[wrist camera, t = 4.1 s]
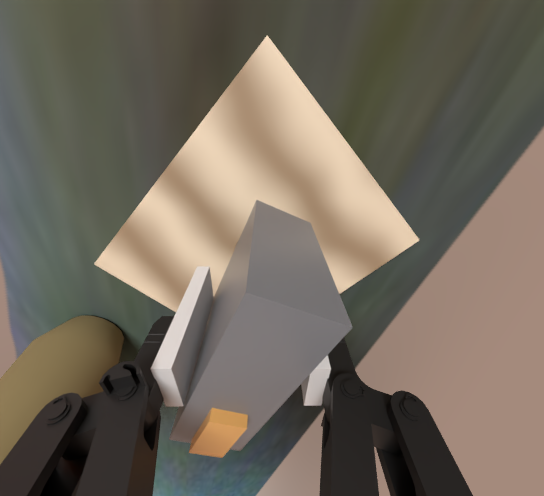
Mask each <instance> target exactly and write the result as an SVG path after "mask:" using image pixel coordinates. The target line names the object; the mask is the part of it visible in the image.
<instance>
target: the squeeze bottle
mask: <svg viewBox="0 0 544 496" xmlns="http://www.w3.org/2000/svg"><path fill="white" fill-rule="evenodd" d="M123 341H124V336H123V334H122V332H121V330H120V329H119V328H118V327H116V326H115V325H114V324H113V323H111V322H109V321H107V320H105V319H103V318H99V317H95V316H78V317H75V318H72V319H70V320H68V321H67V322H65V323H63V324H61V325H59V326H58V327H56V328H54V329H52V330H51V331H49V332H47V333H45V334H44V335H42V336H40V337H38V338H36V339H35V340H33V341H32V342H31V344H30V345H29V346H28V347H27V348H26V349H25V351H24V352H23V353H22V354H21V355H20V356H19V357H18V359H17V360H16V361H15V362H14V363H13V364H12V366H11V367H10V368H9V369H8V370H7V371H6V373H5V374H4V375H3V376H2V377H1V379H0V464H1V463H2V462H3V460H4V459H5V458H6V456H7V455H8V453H9V452H10V451H11V449H12V448H13V447H14V445H15V444H16V443H17V441H18V440H19V439H20V437H21V436H22V435H23V433H24V432H25V431H26V429H27V428H28V426H29V425H30V424H31V422H32V421H33V420H34V418H35V417H36V416H37V414H38V413H39V412H40V411H41V410H42V409H43V408H44V406H45V405H46V404H48V403H49V402H51V401H52V400H53V399H55V398H57V397H59V396H61V395H63V394H67V393H77V394H79V396H80V397H81V398H84V397H87V396H90V395H93V394H97V393H100V392H103V391H104V390H103V389H102V387H101V386H100V384H99V381H100V380H101V378H102V376H103V375H104V374H105V373H106V372H107V371H108V370H109V369H110V368H112V367H113V366H115V365H116V364H118V363H119V359H120V354H121V350H122V345H123Z"/></svg>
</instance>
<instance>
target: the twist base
mask: <svg viewBox="0 0 544 496" xmlns="http://www.w3.org/2000/svg"><path fill="white" fill-rule="evenodd" d="M256 200H259V201H261V202H263V203H266V204H268V205H270V206H273V207H275V208H277V209H280V210H282V211H284V212H287V213H289V214H291V215H293V216H296V217H298V218H300V219H303V220H305V221H307V222H310V223H311V225H312V228H313V230H314V233H315V235H316V238H317V240H318V243H319V245H320V248H321V250H322V252H323V255H324V257H325V260H326V262H327V265H328V267H329V270H330V272H331V275H332V277H333V280H334V282H335V285H336V287H337V290H338V292H339V294H340V293H342V292H343V291H345V290H346V289H348V288H349V287H351V286H352V285H354V284H355V283H357V282H358V281H360V280H361V279H363V278H364V277H366V276H367V275H368V274H370V273H371V272H373V271H374V270H376V269H377V268H379V267H380V266H382V265H383V264H385V263H386V262H388V261H389V260H391V259H392V258H394V257H395V256H397V255H398V254H400V253H401V252H403V251H404V250H406V249H407V248H409V247H410V246H412V245H413V244H415V243H416V242H418V241H419V239H418V237H417V236H416V235H415V233H414V232H413V231H412V229H411V228H410V227H409V225H408V224H407V223H406V221H405V220H404V218H403V217H402V216H401V214H400V213H399V212H398V210H397V209H396V208H395V206H394V205H393V204H392V202H391V201H390V200H389V198H388V197H387V196H386V194H385V193H384V192H383V190H382V189H381V188H380V186H379V185H378V184H377V182H376V181H375V179H374V178H373V177H372V175H371V174H370V173H369V171H368V170H367V169H366V167H365V166H364V165H363V163H362V162H361V161H360V159H359V158H358V157H357V155H356V154H355V153H354V151H353V150H352V149H351V147H350V146H349V145H348V143H347V142H346V140H345V139H344V138H343V136H342V135H341V134H340V132H339V131H338V130H337V128H336V127H335V126H334V124H333V123H332V122H331V120H330V119H329V118H328V116H327V115H326V114H325V112H324V111H323V110H322V108H321V107H320V106H319V104H318V103H317V102H316V100H315V99H314V97H313V96H312V95H311V93H310V92H309V91H308V89H307V88H306V87H305V85H304V84H303V83H302V81H301V80H300V79H299V77H298V76H297V75H296V73H295V72H294V71H293V69H292V68H291V67H290V65H289V64H288V63H287V61H286V60H285V58H284V57H283V56H282V54H281V53H280V52H279V50H278V49H277V48H276V46H275V45H274V44H273V42H272V41H271V40H270V38H269V37H268V36H266V38H265V39H264V40H263V42H262V43H261V44H260V46H259V47H258V48H257V50H256V51H255V52H254V54H253V55H252V56H251V58H250V59H249V60H248V61H247V63H246V64H245V65H244V67H243V68H242V69H241V71H240V72H239V73H238V75H237V76H236V77H235V79H234V80H233V81H232V83H231V84H230V85H229V87H228V88H227V89H226V91H225V92H224V93H223V94H222V96H221V97H220V98H219V100H218V101H217V102H216V104H215V105H214V106H213V108H212V109H211V110H210V112H209V113H208V114H207V116H206V117H205V118H204V120H203V121H202V122H201V124H200V125H199V126H198V127H197V129H196V130H195V131H194V133H193V134H192V135H191V137H190V138H189V139H188V141H187V142H186V143H185V145H184V146H183V147H182V149H181V150H180V151H179V153H178V154H177V155H176V157H175V158H174V159H173V160H172V162H171V163H170V164H169V166H168V167H167V168H166V170H165V171H164V172H163V174H162V175H161V176H160V178H159V179H158V180H157V182H156V183H155V184H154V186H153V187H152V188H151V190H150V191H149V192H148V193H147V195H146V196H145V197H144V199H143V200H142V201H141V203H140V204H139V205H138V207H137V208H136V209H135V211H134V212H133V213H132V215H131V216H130V217H129V219H128V220H127V221H126V223H125V224H124V225H123V226H122V228H121V229H120V230H119V232H118V233H117V234H116V236H115V237H114V238H113V240H112V241H111V242H110V244H109V245H108V246H107V248H106V249H105V250H104V252H103V253H102V254H101V256H100V257H99V258H98V259H97V261H96V262H95V263H94V264H95V265H96V266H98V267H100V268H101V269H103V270H105V271H107V272H108V273H110V274H112V275H113V276H115V277H117V278H118V279H120V280H122V281H124V282H125V283H127V284H129V285H130V286H132V287H134V288H136V289H137V290H139V291H141V292H142V293H144V294H146V295H147V296H149V297H151V298H153V299H154V300H156V301H158V302H159V303H161V304H163V305H165V306H166V307H168V308H170V309H171V310H173V311H175V312H177V310H178V308H179V305H180V303H181V301H182V299H183V297H184V294H185V292H186V290H187V288H188V286H189V283H190V281H191V279H192V277H193V275H194V272H195V270H196V268H197V266H205V267H210V273H211V281H212V288H213V296H215V294H216V291H217V289H218V287H219V284H220V282H221V280H222V278H223V275H224V273H225V271H226V268H227V266H228V264H229V261H230V259H231V257H232V255H233V252H234V250H235V248H236V245H237V243H238V241H239V239H240V236H241V234H242V232H243V229H244V227H245V225H246V223H247V220H248V218H249V216H250V213H251V211H252V209H253V207H254V204H255V202H256Z"/></svg>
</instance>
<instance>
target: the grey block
mask: <svg viewBox="0 0 544 496" xmlns="http://www.w3.org/2000/svg"><path fill="white" fill-rule="evenodd" d="M352 328H353V327H352V324H351V322H350V319H349V317H348V315H347V312H346V310H345V307H344V305H343V302H342V300H341V297H340V295H339V292H338V290H337V287H336V285H335V282H334V280H333V277H332V275H331V272H330V270H329V267H328V265H327V262H326V260H325V257H324V255H323V252H322V250H321V248H320V245H319V243H318V240H317V238H316V235H315V233H314V230H313V228H312V225H311V223H310V222H307V221H305V220H303V219H300V218H298V217H296V216H293V215H291V214H289V213H287V212H284V211H282V210H280V209H277V208H275V207H273V206H270V205H268V204H266V203H263V202H261V201H259V200H256V202H255V204H254V207H253V209H252V211H251V213H250V216H249V218H248V220H247V223H246V225H245V227H244V229H243V232H242V234H241V236H240V239H239V241H238V243H237V245H236V248H235V250H234V252H233V255H232V257H231V259H230V261H229V264H228V266H227V268H226V271H225V273H224V275H223V278H222V280H221V282H220V284H219V287H218V289H217V291H216V294H215V296H214V301H213V305H212V308H211V312H210V315H209V319H208V322H207V326H206V329H205V333H204V337H203V340H202V344H201V347H200V351H199V354H198V358H197V361H196V365H195V368H194V372H193V375H192V379H191V382H190V386H189V389H188V393H187V396H186V400H185V403H184V406H179V408H178V411H177V414H176V418H175V421H174V424H173V428H172V431H171V434H170V438H169V440H176V441H182V442H188V443H191V446H190V450H189V453H194V454H201V455H207V456H214V457H221V458H222V457H223V456H224V455H225V454H226V453H227V452H228V450H229V449H232V450H238V451H240V450H241V449H242V448H243V447H244V446H245V445H246V444H247V443H248V442H249V440H250V439H251V438H252V437H253V436H254V435H255V434H256V433H257V432H258V431H259V430H260V428H261V427H262V426H263V425H264V424H265V423H266V422H267V421H268V420H269V419H270V417H271V416H272V415H273V414H274V413H275V412H276V411H277V410H278V409H279V408H280V406H281V405H282V404H283V403H284V402H285V401H286V400H287V399H288V398H289V397H290V396H291V394H292V393H293V392H294V391H295V390H296V389H297V388H298V387H299V386H300V385H301V383H302V382H303V381H304V380H305V379H306V378H307V377H308V376H309V375H310V374H311V373H312V371H313V370H314V369H315V368H316V367H317V366H318V365H319V364H320V363H321V362H322V360H323V359H324V358H325V357H326V356H327V355H328V354H329V353H330V352H331V351H332V349H333V348H334V347H335V346H336V345H337V344H338V343H339V342H340V341H341V340H342V339H343V337H344V336H345V335H346V334H347V333H348V332H349V331H350V330H351V329H352Z"/></svg>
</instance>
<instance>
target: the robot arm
mask: <svg viewBox="0 0 544 496" xmlns="http://www.w3.org/2000/svg"><path fill="white" fill-rule="evenodd" d="M213 301H214V296H213V288H212V281H211V273H210V267H205V266H197V268H196V270H195V272H194V275H193V277H192V279H191V281H190V283H189V286H188V288H187V290H186V292H185V294H184V297H183V299H182V301H181V303H180V305H179V308H178V310H177V312H176V314H175V316H162V317H161V318H160V319H159V320H157V321H156V322H155V323H154V324H153V326H152V328H151V330H150V332H149V334H148V335H147V337H146V339H145V341H144V343H143V345H142V347H141V348H140V350H139V352H138V354H137V356H136V358H135V360H134V361H124V362H121V363H119V364H116V365H115V366H113V367H112V368H110V369H109V370H108V371H107V372H106V373H105V374H104V375H103V376H102V378H101V380H100V381H99V384H100V386H101V387H102V389H103V390H104V391H103V392H100V393H97V394H93V395H90V396H87V397H84V398H81V397H80V396H79V394H77V393H67V394H63V395H61V396H59V397H57V398H55V399H53V400H52V401H51V402H49V403H48V404H46V405H45V406H44V408H43V409H42V410H41V411H40V412H39V413H38V414H37V416H36V417H35V418H34V420H33V421H32V422H31V424H30V425H29V426H28V428H27V429H26V431H25V432H24V433H23V435H22V436H21V437H20V439H19V440H18V441H17V443H16V444H15V445H14V447H13V448H12V449H11V451H10V452H9V453H8V455H7V456H6V458H5V459H4V460H3V462H2V463H1V464H0V496H152V494H153V485H154V476H155V467H156V458H157V449H158V440H159V430H160V421H161V416H160V411H159V410H160V408H161V405H162V402H163V401H164V403H165V406H184V403H185V400H186V396H187V393H188V389H189V386H190V382H191V379H192V375H193V372H194V368H195V365H196V361H197V358H198V354H199V351H200V347H201V344H202V340H203V337H204V333H205V329H206V326H207V322H208V319H209V315H210V312H211V308H212V305H213ZM301 386H302V394H303V402H304V406H321V404H322V401H323V403H324V409H325V413H324V417H323V420H322V424H321V426H323V438H322V458H321V478H320V496H379V491H378V481H377V472H376V463H375V453H374V447H376V449H377V453H378V456H379V459H380V462H381V466H382V469H383V472H384V475H385V479H386V482H387V485H388V489H389V492H390V495H391V496H473V495H472V493H471V491H470V489H469V487H468V485H467V483H466V481H465V479H464V478H463V476H462V474H461V472H460V470H459V468H458V466H457V464H456V462H455V460H454V458H453V456H452V455H451V453H450V451H449V449H448V447H447V445H446V443H445V441H444V439H443V437H442V435H441V433H440V432H439V430H438V428H437V426H436V424H435V422H434V420H433V418H432V416H431V414H430V412H429V410H428V409H427V408H426V406H425V404H424V403H423V402H422V401H421V400H420V399H419V398H418V397H416V396H415V395H413V394H411V393H409V392H405V391H398V392H395V393H394V394H393V395H389V394H386V393H383V392H380V391H377V390H374V389H372V388H370V387H368V386H367V385H365V384H364V383H363V382H362V381H361V380H360V378H359V377H358V375H357V373H356V371H355V368H354V366H353V363H352V360H351V357H350V354H349V351H348V348H347V345H346V343H345V339H344V337H343V339H342V340H341V341H340V342H339V343H338V344H337V345H336V346H335V347H334V348H333V349H332V351H331V352H330V353H329V354H328V355H327V356H326V357H325V358H324V359H323V360H322V362H321V363H320V364H319V365H318V366H317V367H316V368H315V369H314V370H313V371H312V373H311V374H310V375H309V376H308V377H307V378H306V379H305V380H304V381H303V382H302V383H301Z"/></svg>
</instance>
